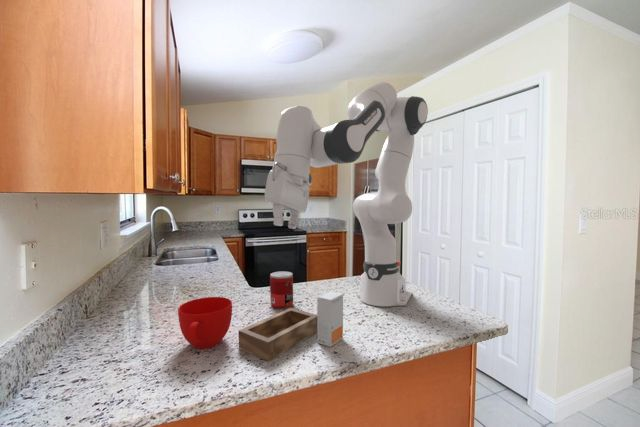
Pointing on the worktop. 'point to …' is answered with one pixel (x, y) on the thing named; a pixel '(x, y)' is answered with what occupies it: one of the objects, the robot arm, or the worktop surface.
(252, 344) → the brown hollow rectangular tray
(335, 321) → the skincare box
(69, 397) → the worktop surface
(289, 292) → the canned food
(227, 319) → the ceramic cup
